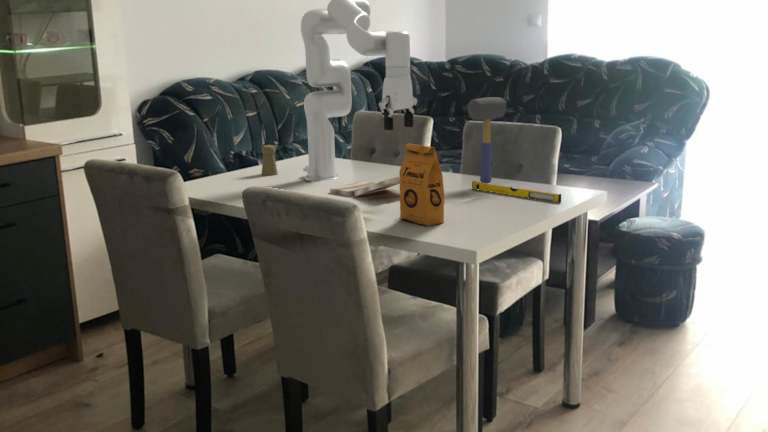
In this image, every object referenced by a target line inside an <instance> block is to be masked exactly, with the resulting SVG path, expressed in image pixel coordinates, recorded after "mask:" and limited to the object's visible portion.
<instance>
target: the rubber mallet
mask: <svg viewBox="0 0 768 432" xmlns="http://www.w3.org/2000/svg"><path fill="white" fill-rule="evenodd" d="M506 112H507V103H506V101H505V99H503V97H498V96H497V97H493V96H491V97H490V96H488V97H487V96H486V97H481V98H474V99H471V100H470V101H469V102H468V104H467V113H468V116H469V118H470V119H472V120H474V121H475V120H477V121H478V120H480V121H481V120H483V123H482V124H483V125H482V128H483V129H482V142H481V147H480V161H481V166H480V167H481V168H480V170H481V172H480V177H479V182H482V183H490V184H491V182H492V179H493V178H492V173H491V172H492V165H491V164H492V156H493V153H492V142H491V120H493V119H499V118H502V117H504V116H505V115H506Z"/></svg>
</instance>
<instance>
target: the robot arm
mask: <svg viewBox="0 0 768 432" xmlns="http://www.w3.org/2000/svg"><path fill="white" fill-rule="evenodd" d="M370 16H371V7H370V4H369V2H368V1H367V0H330V1H329V2H328V4H327V8H315V9H311V10H308V11H306V12H305V13H304V14H303V16H302V18H301V21H300V34H301V38H302V40H303V45H304V51H305V55H304V56H305V72H306V80H307V83H308V84H309V86H310V87H313V88H331V87H332V88H333V89H332V90H319V91H313V92H310V93H308V94H306V96H305V97H304V100H303V107H304V113H305V118H306V126H307V127H306V128H307V145H308V146H307V147H308V150H307V151H308V154H307V155H308V165H305V167H303V168H302V171H303V172H304V173H305V172H306V173H307V174H306V175H305V176H304V180H305V181H307V182H318V181H327V180H336V179H338V178H340V174H338V173H336V152H335V151H336V150H335V149H336V148H335V147H336V146H335V142H336V141H335V129H334V127H333V125H332V123H331V121H330V120H329V119H330V118H339V117H345V116H347V115H349V114H350V112H351V111H352V105H353V104H352V101H353V98H352V79H351V78H352V76H351V70H350V66H349V65H348V63H347V62H346V61H344V60H343V59H340V58H339V59H337V58H336V59H335V58H334V59H331V55H330V46H329V43H328V41H327V40H326V39H325V37H324V36H323V35H343V34H346V39H347V43H348V45H349V46H350V47H351V48H352V49H353V50H354V51H355V52H357V53H358V54H360V55H361V56H365V57H374V56H375V57H377V56H380V57H381V56H383V57H385V77H384V80H383V83H382V84H383V85H382V98H381V99H382V100H380V102H379V103H378V107H379V109H380V113H381V114H382V117H383V126H384V127H383V128H384V130H385V131H393V130H394V117H393V115H394V112H395V111H401V110H403V111H404V114H403V126H404V127H407V128H412V127H414V114H415V110H416V109H417V103H418V99H417V98H416V97H415V96H413V93H414V91H413V83H412V77H411V45H410V44H411V42H410V41H411V38H410V33H409V32H408V31H403V30H402V31H400V30H399V31H393V30H371V31H368V30H369V29H370V25H371V19H370Z"/></svg>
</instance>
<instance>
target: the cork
mask: <svg viewBox="0 0 768 432" xmlns="http://www.w3.org/2000/svg"><path fill="white" fill-rule="evenodd" d="M261 153H262V163H261V176H262V177H263V176H265V177H266V176H267V177H268V176H269V177H272V176H277V175H278V168H277V167H278V166H277V162H276V156H275V153H276V147H275V146H274V145H272V144H265V145H263V146H262V147H261Z"/></svg>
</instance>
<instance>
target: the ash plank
mask: <svg viewBox="0 0 768 432" xmlns="http://www.w3.org/2000/svg"><path fill="white" fill-rule="evenodd" d="M375 183H376V184H373V185H371V186H368V187H365V188H363V189H360V190H357V191H355V192H354V194H355V196H358V195H362V194H366V193H370V192H374V191H379V190H383V189H390V188H392V187H394V186H398V185H400V176H396V177H393V178H389V179H385V180H382V181H379V182H375Z"/></svg>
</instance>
